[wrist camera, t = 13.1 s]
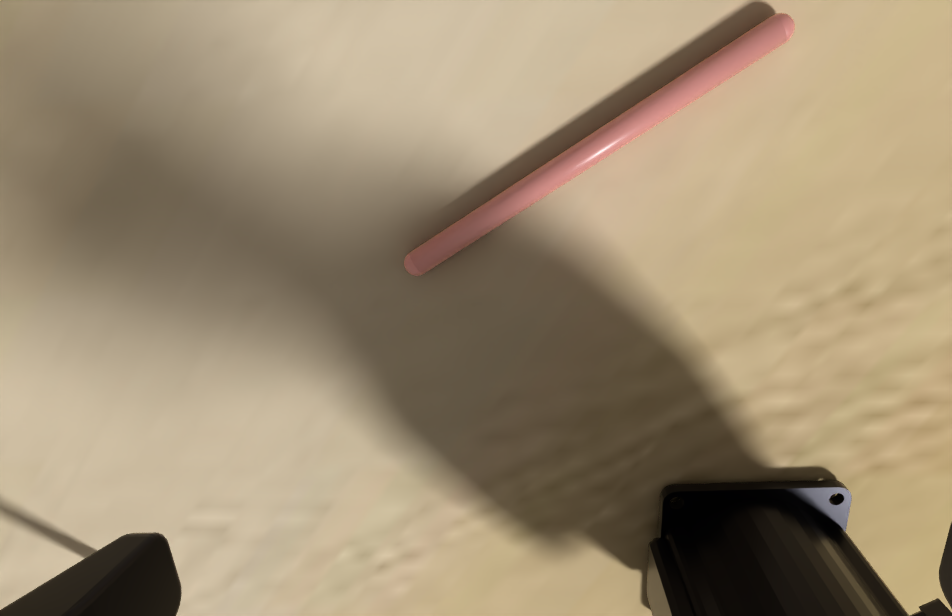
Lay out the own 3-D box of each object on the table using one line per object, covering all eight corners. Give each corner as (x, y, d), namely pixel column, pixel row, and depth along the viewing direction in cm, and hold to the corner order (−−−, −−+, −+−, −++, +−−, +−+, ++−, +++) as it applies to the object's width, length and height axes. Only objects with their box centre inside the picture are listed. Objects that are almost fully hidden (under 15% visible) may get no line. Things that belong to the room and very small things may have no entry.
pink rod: (779, 8, 16) (792, 4, 16) (791, 35, 17) (805, 33, 16) (401, 255, 19) (397, 262, 19) (415, 275, 20) (412, 283, 19)
